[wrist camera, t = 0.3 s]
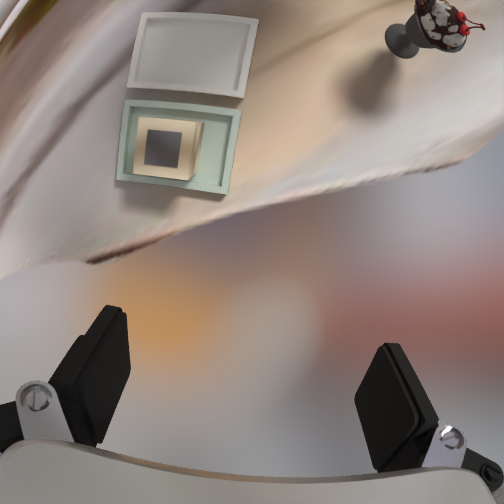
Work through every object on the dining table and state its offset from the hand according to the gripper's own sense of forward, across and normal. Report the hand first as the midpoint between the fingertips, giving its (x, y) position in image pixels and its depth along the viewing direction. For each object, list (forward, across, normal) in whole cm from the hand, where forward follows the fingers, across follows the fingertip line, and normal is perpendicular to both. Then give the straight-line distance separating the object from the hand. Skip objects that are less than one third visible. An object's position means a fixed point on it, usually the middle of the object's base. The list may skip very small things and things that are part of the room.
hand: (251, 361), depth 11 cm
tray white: (+30, +10, -16) cm, 35 cm away
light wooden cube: (+29, +10, -4) cm, 31 cm away
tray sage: (+30, +10, -4) cm, 32 cm away
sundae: (+30, -15, -24) cm, 41 cm away
